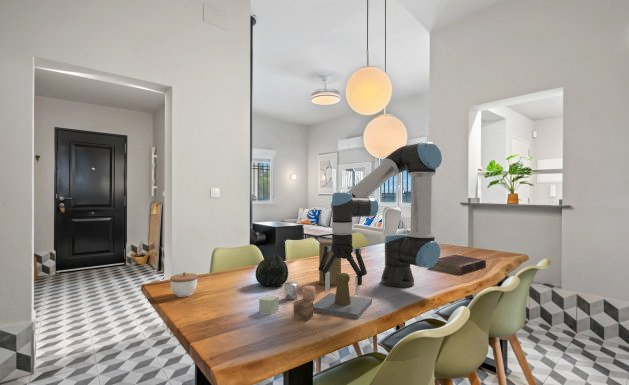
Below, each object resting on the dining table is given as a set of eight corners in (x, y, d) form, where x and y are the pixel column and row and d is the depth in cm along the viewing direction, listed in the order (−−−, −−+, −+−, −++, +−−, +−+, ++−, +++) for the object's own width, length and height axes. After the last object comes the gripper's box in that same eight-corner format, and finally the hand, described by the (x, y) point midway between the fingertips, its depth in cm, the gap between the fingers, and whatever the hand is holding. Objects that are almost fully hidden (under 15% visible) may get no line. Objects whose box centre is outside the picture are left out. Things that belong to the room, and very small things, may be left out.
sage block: (278, 310, 119) (278, 296, 119) (271, 315, 115) (271, 300, 115) (267, 308, 121) (267, 294, 121) (259, 312, 117) (259, 298, 117)
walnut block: (313, 316, 113) (313, 302, 113) (306, 321, 109) (306, 306, 109) (300, 314, 115) (300, 300, 115) (293, 319, 111) (293, 304, 111)
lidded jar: (191, 289, 145) (191, 268, 145) (202, 294, 138) (202, 272, 138) (166, 294, 138) (166, 272, 138) (176, 300, 130) (176, 277, 130)
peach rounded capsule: (317, 298, 132) (317, 286, 132) (311, 302, 128) (311, 289, 128) (306, 297, 135) (306, 284, 135) (300, 300, 130) (300, 288, 130)
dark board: (372, 303, 127) (372, 299, 127) (357, 318, 111) (357, 314, 111) (329, 296, 135) (329, 293, 135) (310, 310, 119) (310, 306, 119)
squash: (251, 269, 159) (257, 250, 150) (281, 268, 165) (288, 249, 156) (256, 295, 149) (262, 276, 140) (287, 293, 155) (295, 274, 146)
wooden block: (341, 280, 161) (341, 239, 161) (340, 285, 151) (340, 242, 151) (320, 279, 162) (320, 239, 162) (319, 285, 152) (319, 242, 152)
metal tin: (299, 297, 134) (299, 283, 134) (293, 301, 129) (293, 286, 129) (288, 296, 136) (288, 281, 136) (282, 299, 131) (282, 284, 131)
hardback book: (460, 275, 171) (460, 266, 172) (428, 269, 186) (428, 260, 186) (486, 268, 189) (485, 259, 189) (454, 262, 204) (454, 254, 204)
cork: (333, 299, 126) (333, 271, 125) (349, 299, 126) (349, 271, 126) (335, 305, 120) (336, 275, 119) (352, 305, 120) (352, 275, 120)
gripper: (375, 233, 121) (375, 293, 121) (317, 230, 132) (317, 285, 131) (370, 236, 115) (370, 299, 114) (309, 232, 125) (309, 290, 125)
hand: (342, 291), depth 123 cm, fingers open, 11 cm apart
